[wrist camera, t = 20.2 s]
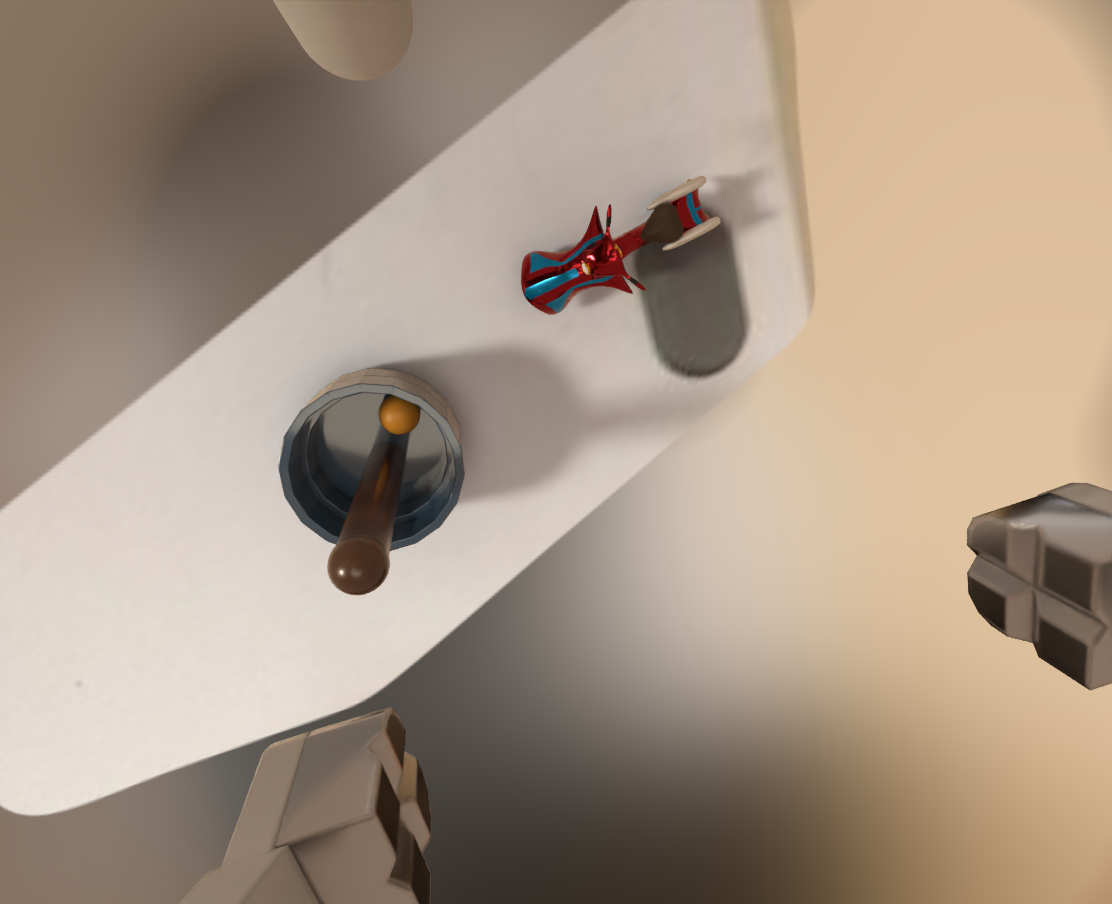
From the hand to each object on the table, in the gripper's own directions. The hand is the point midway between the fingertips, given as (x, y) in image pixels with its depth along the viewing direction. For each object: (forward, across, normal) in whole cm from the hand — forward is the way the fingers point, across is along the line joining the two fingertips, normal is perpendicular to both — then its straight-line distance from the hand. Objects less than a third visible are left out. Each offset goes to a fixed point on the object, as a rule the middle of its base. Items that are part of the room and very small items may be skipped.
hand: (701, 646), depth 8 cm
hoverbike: (+31, -8, -4) cm, 33 cm away
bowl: (+31, +8, +4) cm, 32 cm away
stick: (+30, +8, +5) cm, 32 cm away
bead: (+29, +7, +2) cm, 30 cm away
